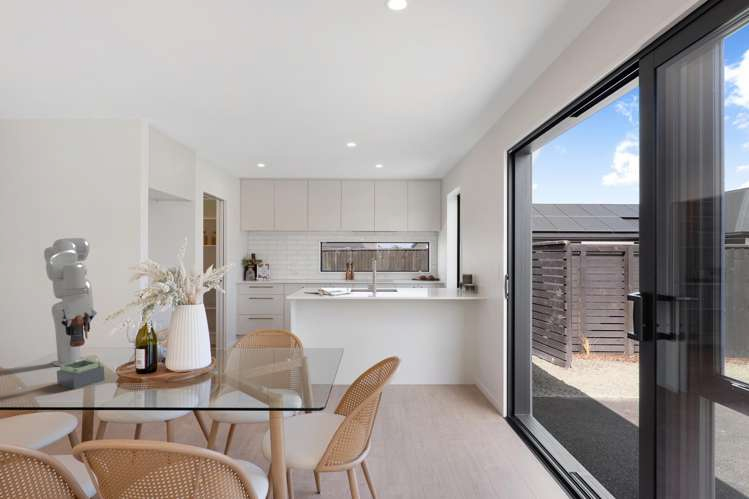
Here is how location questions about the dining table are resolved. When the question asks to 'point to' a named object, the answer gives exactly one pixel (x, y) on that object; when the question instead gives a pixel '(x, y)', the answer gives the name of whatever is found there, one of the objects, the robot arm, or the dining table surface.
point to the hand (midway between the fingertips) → (78, 332)
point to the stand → (80, 374)
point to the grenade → (79, 330)
